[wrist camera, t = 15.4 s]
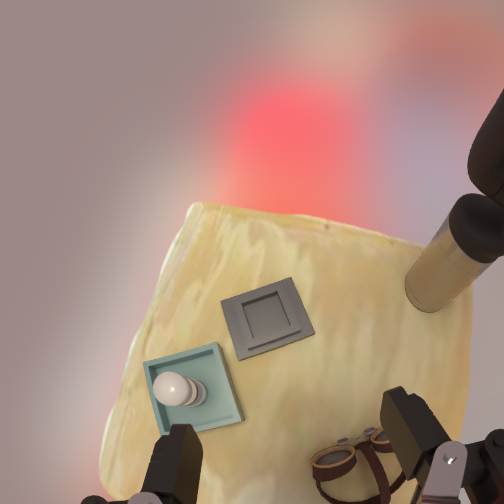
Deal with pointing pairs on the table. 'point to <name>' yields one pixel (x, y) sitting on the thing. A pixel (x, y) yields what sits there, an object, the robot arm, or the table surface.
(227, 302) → the grey recessed base plate
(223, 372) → the parts tray
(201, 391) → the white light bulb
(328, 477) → the goggles
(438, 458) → the robot arm
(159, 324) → the table surface
